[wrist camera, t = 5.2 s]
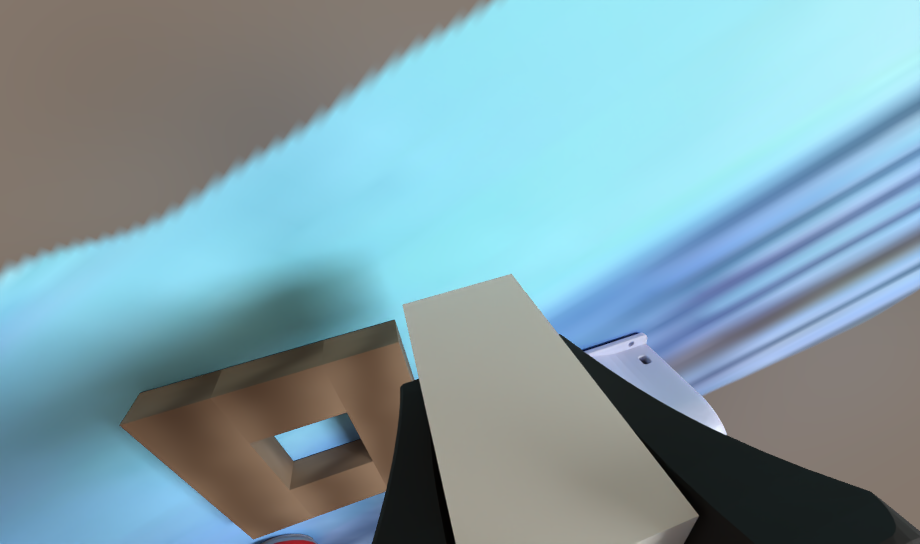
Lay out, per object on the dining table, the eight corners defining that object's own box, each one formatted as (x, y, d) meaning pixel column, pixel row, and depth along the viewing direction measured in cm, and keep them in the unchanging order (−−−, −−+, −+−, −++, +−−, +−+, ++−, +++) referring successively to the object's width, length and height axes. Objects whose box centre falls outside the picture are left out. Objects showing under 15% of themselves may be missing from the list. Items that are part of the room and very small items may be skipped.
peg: (511, 273, 12) (698, 515, 6) (517, 351, 14) (657, 591, 8) (402, 304, 12) (471, 614, 5) (425, 381, 14) (494, 667, 7)
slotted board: (394, 319, 21) (398, 342, 19) (436, 447, 28) (441, 471, 27) (139, 393, 18) (119, 425, 17) (259, 509, 26) (253, 539, 24)
